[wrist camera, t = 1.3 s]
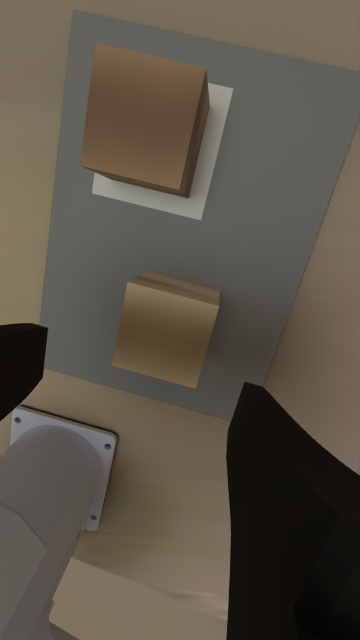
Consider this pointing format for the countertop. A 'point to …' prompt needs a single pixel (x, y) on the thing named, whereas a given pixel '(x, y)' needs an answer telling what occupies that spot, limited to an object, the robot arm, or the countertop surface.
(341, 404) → the countertop surface
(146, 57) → the walnut block
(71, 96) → the build board
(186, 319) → the beech block
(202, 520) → the countertop surface
